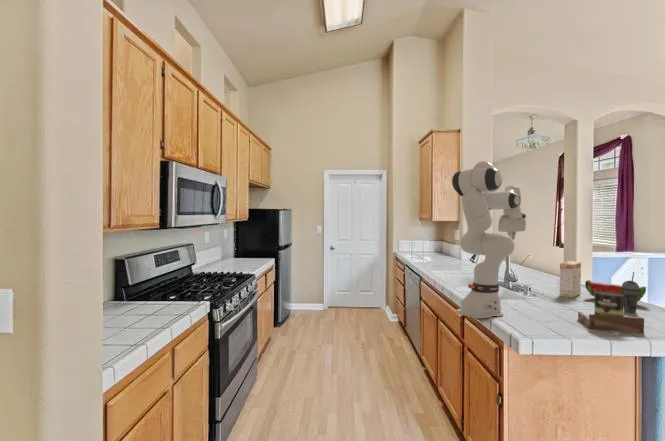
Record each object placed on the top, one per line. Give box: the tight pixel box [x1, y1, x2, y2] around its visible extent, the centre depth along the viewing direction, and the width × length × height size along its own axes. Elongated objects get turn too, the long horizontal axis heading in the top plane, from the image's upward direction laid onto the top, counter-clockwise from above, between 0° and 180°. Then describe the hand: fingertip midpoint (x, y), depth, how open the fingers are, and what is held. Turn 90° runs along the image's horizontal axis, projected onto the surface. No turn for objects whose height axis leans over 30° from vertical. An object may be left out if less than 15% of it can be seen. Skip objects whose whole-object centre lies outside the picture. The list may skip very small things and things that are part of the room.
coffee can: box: [593, 291, 624, 316], centre depth 160 cm, size 10×10×14 cm
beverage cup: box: [621, 271, 640, 314], centre depth 181 cm, size 7×7×20 cm
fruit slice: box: [584, 279, 647, 303], centre depth 202 cm, size 26×6×10 cm, turn 45°
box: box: [577, 311, 645, 334], centre depth 159 cm, size 14×19×6 cm
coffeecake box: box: [559, 260, 582, 298], centre depth 218 cm, size 15×7×20 cm, turn 130°
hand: (511, 239), depth 207 cm, fingers closed
